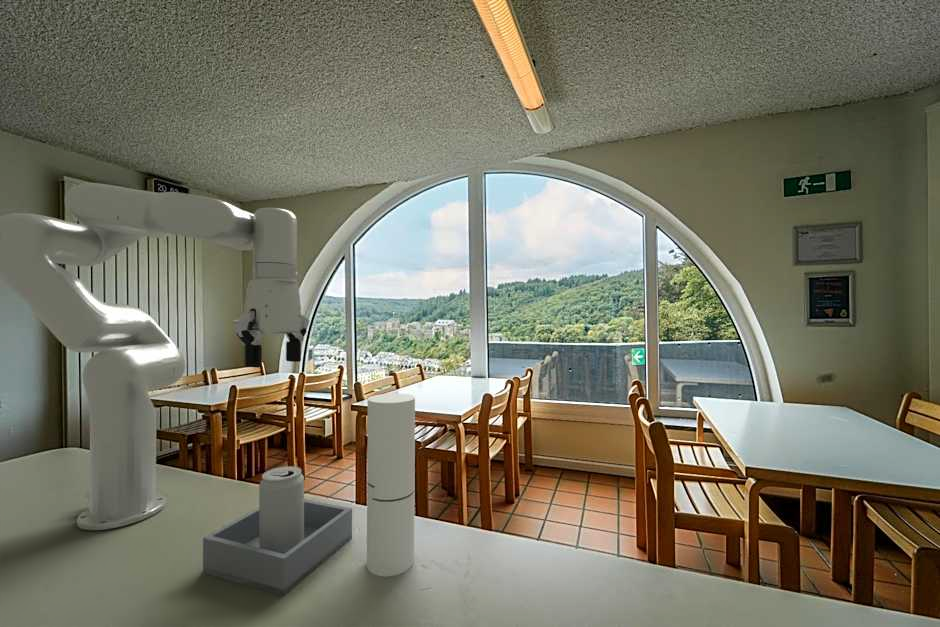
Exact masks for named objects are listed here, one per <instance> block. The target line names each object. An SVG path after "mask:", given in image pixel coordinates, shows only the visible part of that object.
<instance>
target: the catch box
mask: <svg viewBox="0 0 940 627" xmlns="http://www.w3.org/2000/svg"><path fill="white" fill-rule="evenodd" d="M352 539H353V508H351V507H346V506H342V505H335V504H330V503H325V502H320V501H314V500H311V499H310V500H309V499H305V498H304V540H303V541H302V542H300V543H299V544H297V545H296V546H295V547H293V548H292V549H291V550H289V551H288V552H286V553H285V554H282V553H278V552H274V551H270V550H266V549H262V548H259V507H257V508H256V509H254V510H252V511H250V512H247V514H245V515H243V516H240V517H239V518H237V519H235V520H233V521H232V522H230V523H228V524H226V525H225V526H222V527H221V528H219V529H217V530H214V531H213V532H212V533H210V534H208V535H206V536H204V537H203V538H202V573H204V574H208V575H211V576H213V577H217V578H221V579H224V580H228V581H232V582H235V583H238V584H240V585H244V586H245V585H246V586H248V587H252V588H255V589H258V590H262V591H266V592H268V593H269V592H270V593H272V594H275V595H279V596H282V597H285V596H286V595H287V594H288V593H289V592H291V590H293V589H294V588H295V587H297V586H298V585H299V584H300V583H301V582H303V581H304V580H305V579H306V578H308V576H309V575H311V574H312V573H313V572H314V571H315V570H316V569H317V568H319V567H320V566H321V565H323V564H324V563H325V562H326V561H327V560H329V559H330V557H332V556H333V555H334V554H335V553H337V552H338V550H340V549H341V548H343V546H345V545H346V544H347V543H348V542H349V541H350V540H352Z"/></svg>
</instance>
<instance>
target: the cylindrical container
mask: <svg viewBox="0 0 940 627" xmlns="http://www.w3.org/2000/svg"><path fill="white" fill-rule="evenodd" d="M415 427H416V396H415V395H413V394H407V393H381V394H376V395H371V396H369V397H368V398H367V438H366V439H367V456H366V458H367V459H366V460H367V462H366V463H367V466H366V469H367V470H366V474H367V475H366V480H367V481H366V485H367V486H366V568H367V570H368V572H369V573H371V574H372V575H376V576H378V577H386V578H387V577H394V576H398V575H402V574H404V573H405V572H407V571H408V570H410V569H411V567H412V566H413V565H414V563H415V498H416V496H415V494H416V493H415V490H416V488H415V487H416V486H415V483H416V481H415V480H416V479H415V477H416V476H415V474H416V468H415V467H416V466H415V464H416V463H415V462H416V461H415V460H416V459H415V458H416V457H415V456H416V452H415V451H416V443H415V442H416V441H415V440H416V437H415V436H416V428H415Z"/></svg>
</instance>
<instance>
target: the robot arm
mask: <svg viewBox="0 0 940 627" xmlns="http://www.w3.org/2000/svg"><path fill="white" fill-rule="evenodd" d="M64 206H65V208H66V210H67V212H68V213H69V214H70V216H72V217H73V219H75V220H76V221H77V222H79V223H80V224H79V223H75V222H72V221H67V220H63V219H59V218H55V217H52V216H46V215H42V214H36V213H23V212H19V213H15V212H14V213H9V214H5V215H2V216H0V279H1V280H2V282H3V283H5V284H6V286H8V287H9V288H10V289H11V290H12V291H13V292H14V293H16V294H17V295H18V297H20V299H22V301H23V302H25V303H26V305H27V306H29V308H30V309H31V310H32V312H33V313H34V314H35V315H36V316H37V317H38V318H39V320H40V321H41V322H42V323H43V324H44V325H45V327H46V328H47V329H48V330H49V331H50V332H51V333H52V334H53V336H54V337H55V338H56V339H57V340H58V341H59V342H60V343H61V344H62V345H63V346H64V347H65V348H67V349H68V350H70V351H72V352H74V353H75V352H76V353H82V354H83V353H85V354H86V353H95V354H94V355H93V356H91V357H90V358H89V359H88V361H87V362H86V363H85V365H84V367H83V371H82V382H83V386H84V391H85V394H86V399H87V402H88V403H87V404H88V412H89V413H88V414H89V478H88V479H89V485H88V486H89V490H88V491H87V492H85V494H84V499H86V500H88V501H89V503H88V508H87V509H85V510H83V512H82V513H80V514H79V515H78V516H77V518H76V525H77V527H78V528H79V529H81V530H85V531H104V530H105V531H106V530H110V529H116V528H120V527H121V528H122V527H124V526H127V525H132V524H134V523H137V522H138V523H139V522H140V521H143V520H145V519H148V518H150V517H152V516H154V515H156V514H157V513H159V512H160V511H161V510H162V509H163V508H164V507H165V506H166V497H165V495H162V494H160V493H156V489H157V488H156V486H157V484H156V483H157V482H156V481H157V477H156V476H157V474H156V472H157V414H156V409H155V406H154V403H153V402H152V399H151V397H150V395H149V392H151V391H152V392H153V391H156V390H159V389H163V388H167V387H170V386H172V385H174V384H176V383H178V381H179V380H180V379H181V378H182V377H183V375H184V374H185V371H186V361H185V358H184V354H183V353H182V351H181V350H180V348H179V347H178V346H177V345H176V344H175V342H174V341H173V340H171V338H170V337H169V336H168V335H167V333H166V332H165V331H164V330H163V329H162V328H161V326H159V325H158V323H157V322H156V321H155V319H153V317H151V316H150V315H149V314H148V313H147V312H145V310H143V309H140V308H139V307H137V306H133V305H130V304H123V303H109V302H104V301H102V300H100V299H99V298H98V297H96V295H94V294H93V293H92V292H91V291H90V289H89V288H88V287H87V286H86V284H85V283H84V282H83V281H82V280H80V279H79V277H77V276H76V275H74V274H73V273H72V272H70V271H68V270H67V269H65V268H64V267H62V266H60V264H61V265H67V266H74V267H75V266H76V267H94V266H97V265H100V264H102V263H105V262H106V261H108V260H110V259H111V258H113V257H114V256H116V255H118V254H119V253H121V252H122V251H124V250H125V249H127V248H128V247H130V246H132V245H133V244H135V243H137V242H138V241H140V240H141V239H142V238H144V237H147V238H154V239H165V238H167V237H169V236H171V235H174V236H177V237H178V236H180V237H186V238H192V239H197V240H203V241H207V242H210V243H211V242H212V243H215V244H218V245H222V246H225V247H228V248H231V249H233V250H234V249H235V250H238V251H252V253H253V254H252V279H251V280H249V281H248V285H247V288H246V293H245V296H244V297H245V298H244V307H243V314H242V315H240V316H239V317H237V318H235V319H234V320H232V326H233V327H234V330H235V332H236V336H237V338H238V339H240V341H241V344H242V345H243V346H245V349H244V350H245V352H244V366H245V367H246V368H256V369H257V368H261V367H262V363H263V362H262V358H263V357H262V354H263V352H262V350H263V349H262V344H259V343H260V342H261V340H262V339H263V337H264V336H265V335H274V334H275V335H277V334H285V336H286V338H287V340H288V341H286V343H285V346H286V347H285V360H286V361H287V362H294V363H296V362H301V361H302V360H301V359H302V342H303V341H304V336H305V335H306V334H307V332H308V330H307V329H308V327H309V325H310V320H309V319H308V318H307V317H305V315H302V310H301V309H302V306H301V296H300V289H299V288H300V287H299V285H298V282H297V281H298V280H297V278H298V275H299V274H298V271H297V269H298V267H297V264H298V261H297V256H298V254H297V253H298V251H297V250H298V249H297V248H298V242H297V241H298V223H297V222H298V221H297V216H296V215H295V213H293V212H292V211H290V210H287V209H285V208H284V209H283V208H279V207H262V208H261V207H260V208H258V209H257V210H255V212H254V213H251V212H249V211H247V210H243V209H241V208H239V207H237V206H236V205H233V204H231V203H228V202H227V201H223V200H222V199H218V198H213V197H208V196H202V195H196V194H191V193H184V192H177V191H165V192H155V191H147V190H141V189H136V188H129V187H125V186H119V185H118V186H117V185H113V184H107V183H99V182H85V183H84V182H83V183H79V184H76V185H74V186H72V187H71V188H69V190H67V192H66V194H65V196H64Z"/></svg>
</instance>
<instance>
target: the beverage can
mask: <svg viewBox="0 0 940 627" xmlns="http://www.w3.org/2000/svg"><path fill="white" fill-rule="evenodd" d="M258 487H259V496H258V498H259V500H258V501H259V502H258V503H259V504H258V506H259V507H258V508H259V548H262V549H266V550H270V551H274V552H278V553H282V554H285V553H286V552H288V551H289V550H291V549H292V548H293V547H295V546H296V545H297V544H299V543H300V542H302V541H303V540H304V499H305V477H304V475H303V474H302V468H300V467H298V466H294V465H293V466H289V465H288V466H286V465H285V466H280V467H275V468H272V469H269V470H266V471H265V472H264V473H263V474H262V475H261V481H260V482H259V486H258Z"/></svg>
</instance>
